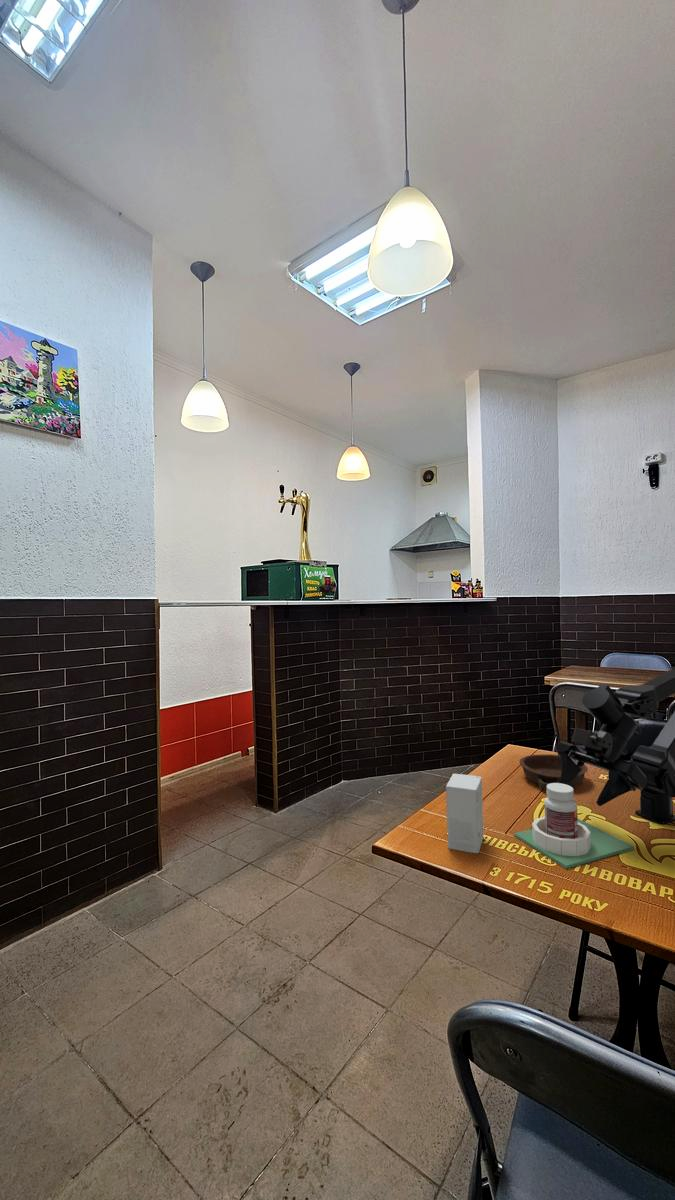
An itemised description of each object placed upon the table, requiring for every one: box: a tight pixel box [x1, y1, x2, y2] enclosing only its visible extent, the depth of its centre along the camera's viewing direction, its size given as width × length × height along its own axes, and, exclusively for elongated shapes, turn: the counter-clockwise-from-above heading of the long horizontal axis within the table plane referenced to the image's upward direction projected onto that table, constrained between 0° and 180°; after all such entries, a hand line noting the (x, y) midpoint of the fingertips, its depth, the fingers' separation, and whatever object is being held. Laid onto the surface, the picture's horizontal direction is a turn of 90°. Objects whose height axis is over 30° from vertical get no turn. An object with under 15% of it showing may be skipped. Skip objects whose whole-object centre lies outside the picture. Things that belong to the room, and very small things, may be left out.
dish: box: [519, 753, 589, 791], centre depth 135 cm, size 18×22×5 cm
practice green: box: [513, 816, 635, 870], centre depth 101 cm, size 18×14×4 cm
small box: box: [445, 773, 484, 854], centre depth 102 cm, size 8×6×13 cm
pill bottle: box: [544, 783, 579, 839], centre depth 100 cm, size 6×6×11 cm
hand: (578, 796), depth 102 cm, fingers open, 9 cm apart
